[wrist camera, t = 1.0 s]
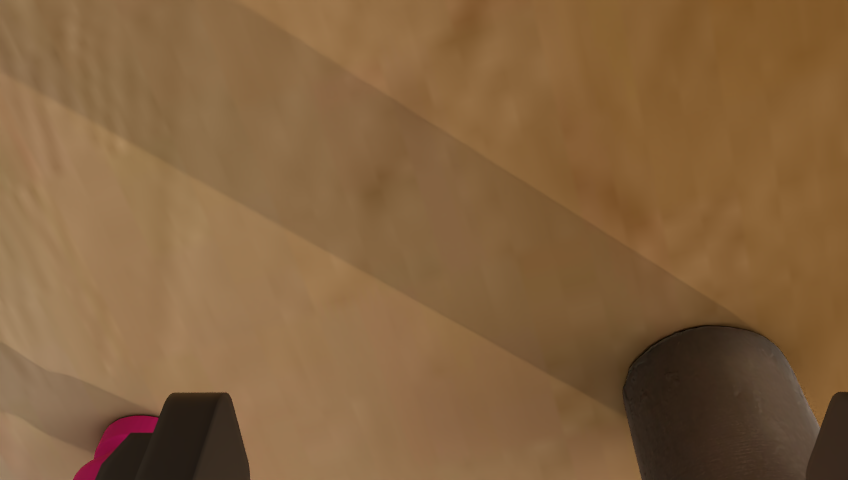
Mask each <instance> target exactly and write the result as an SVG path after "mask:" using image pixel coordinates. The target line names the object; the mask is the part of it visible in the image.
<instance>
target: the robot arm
mask: <svg viewBox="0 0 848 480" xmlns="http://www.w3.org/2000/svg"><path fill="white" fill-rule="evenodd" d="M95 480H250V470H249V463H248V459H247V455H246V451H245V448H244V444H243V440H242V436H241V433H240V429H239V425H238V421H237V417H236V414H235V410H234V406H233V402H232V399H231V397H230V395H229V394H228V393H172V394H170V395H169V397H168V398H167V400H166V401H165V404H164V406H163V408H162V411H161V413H160V416H159V419H158V421H157V424H156V426H155V429H154V431H153V433H130V434H129V435H128V436H127V437H126V438H125V439H124V440H123V441H122V443H121V444H120V445H119V446H118V447H117V448H116V449H115V450H114V451H113V452H112V453H111V454H110V456H109V457H108V458H107V459H106V460H105V461H104V462H103V463H102V464H101V467H100V469H99V471H98V474H97V476H96V478H95ZM806 480H848V392H838V393H836V394H835V395H834V396H833V397H832V399H831V401H830V403H829V406H828V409H827V412H826V414H825V417H824V420H823V423H822V425H821V428H820V431H819V434H818V436H817V439H816V442H815V445H814V448H813V450H812V453H811V456H810V459H809V461H808V465H807V469H806Z"/></svg>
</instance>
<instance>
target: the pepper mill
mask: <svg viewBox="0 0 848 480" xmlns="http://www.w3.org/2000/svg"><path fill="white" fill-rule="evenodd" d="M158 419H159V418H158V417H151V416H130V417H125V418H121V419H119V420H117V421H115V422H114V423H112V424H111V425H110V426H109V427H108V428H107V429H106V431H105V432H104V434H103V436H102V438H101V440H100V442H99V445H98V447H97V449H96V451H95V455H94V460H92V461H90V462H88V463H87V464H85V465H84V466H83V467H82V468H81V469H80V470H79V471H78V472H77V474H76V475H75V477H74V479H73V480H95V478H96V476H97V474H98V471H99V469H100V467H101V464H102V463H103V462H104V461H105V460H106V459H107V458H108V457H109V456H110V454H111V453H112V452H113V451H114V450H115V449H116V448H117V447H118V446H119V445H120V444H121V443H122V441H123V440H124V439H125V438H126V437H127V436H128V435H129V434H130V433H153V431H154V429H155V426H156V424H157V421H158Z"/></svg>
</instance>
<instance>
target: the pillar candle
mask: <svg viewBox="0 0 848 480" xmlns="http://www.w3.org/2000/svg"><path fill="white" fill-rule="evenodd" d="M623 399H624V405H625V410H626V413H627V418H628V423H629V427H630V431H631V436H632V440H633V445H634V449H635V453H636V457H637V462H638V465H639V469H640V474H641V478H642V480H806V469H807V465H808V461H809V459H810V456H811V453H812V450H813V448H814V445H815V442H816V439H817V436H818V434H819V431H820V427H819V425H818V423H817V420H816V418H815V416H814V414H813V412H812V410H811V409H810V406H809V405H808V402H807V400H806V398H805V396H804V394H803V392H802V389H801V387H800V385H799V384H798V381H797V378H796V376H795V374H794V372H793V370H792V369H791V367H790V365H789V363H788V361H787V360H786V358H785V356H784V355H783V353H782V352H781V351H780V350H779V348H778V347H777V346H776V345H775V344H773V343H771V342H770V341H769V340H768V339H766V338H765V337H763V336H761V335H759V334H756V333H753V332H751V331H747V330H742V329H736V328H731V327H720V326H707V327H699V328H696V329H694V328H693V329H689V330H686V331H683V332H680V333H675V334H674V335H672V336H671V337H670V336H669V337H668V338H665V339H663V340H662V341H660V342H658V343H657V344H655V345H653V346H652V347H650V349H649V350H648V351H646V352H645V353H644V354H643V355H642V356H641V357H639V358H638V359H637V360H636V361H635V363H633V365H632V366H631V367H630V369H629V374H628V376H627V381H626V384H625V385H624V387H623Z"/></svg>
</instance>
